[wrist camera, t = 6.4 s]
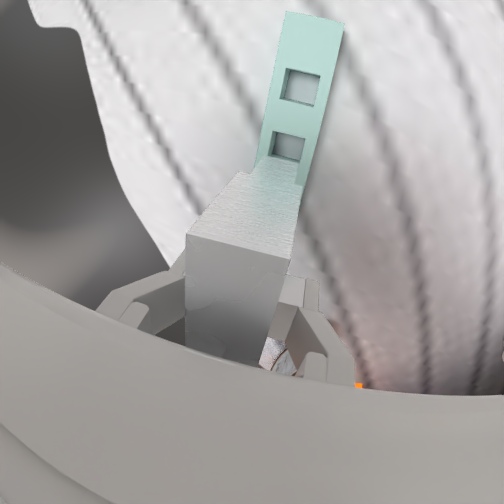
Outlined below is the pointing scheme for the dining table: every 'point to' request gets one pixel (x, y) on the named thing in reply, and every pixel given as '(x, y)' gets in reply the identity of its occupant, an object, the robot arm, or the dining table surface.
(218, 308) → the white block
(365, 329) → the dining table surface
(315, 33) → the rail
